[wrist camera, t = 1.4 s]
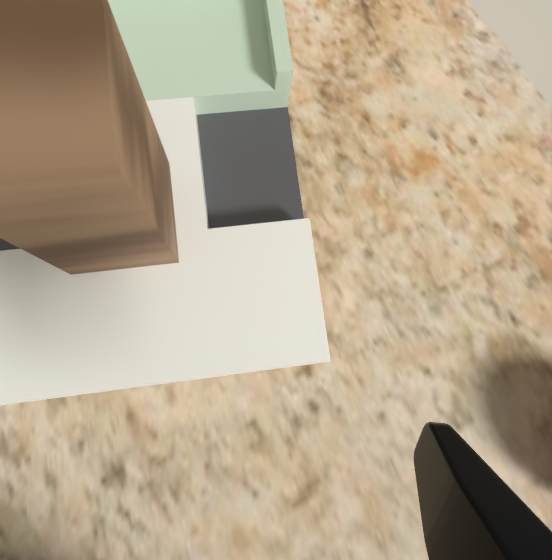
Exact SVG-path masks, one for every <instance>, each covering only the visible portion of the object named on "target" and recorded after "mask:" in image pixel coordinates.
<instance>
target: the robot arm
mask: <svg viewBox="0 0 552 560" xmlns="http://www.w3.org/2000/svg"><path fill="white" fill-rule="evenodd" d="M414 466H415V474H416V481H417V488H418V496H419V503H420V511H421V518H422V525H423V532H424V538H425V544H426V548H427V553H428V557H429V560H552V531H551V530H550V529H549V528H548V527H547V526H546V525H545V524H544V523H543V522H542V521H541V520H540V519H539V518H538V517H537V516H536V515H535V514H534V513H533V512H532V511H531V509H530V508H529V507H528V506H527V505H526V504H525V503H524V502H523V501H522V500H521V499H520V498H519V497H518V496H517V495H516V494H515V493H514V492H513V491H512V490H511V489H510V488H509V486H508V485H507V484H506V483H505V482H504V481H503V480H502V479H501V478H500V477H499V476H498V475H497V474H496V473H495V472H494V471H493V470H492V469H491V468H490V467H489V466H488V465H487V463H486V462H485V461H484V460H483V459H482V458H481V457H480V456H479V455H478V454H477V453H476V452H475V451H474V450H473V449H472V448H471V447H470V446H469V445H468V444H467V443H466V441H465V440H464V439H463V438H462V437H461V436H460V435H459V434H458V433H457V432H456V431H455V430H454V429H453V428H452V427H451V426H450V425H448V424H445V423H435V422H428V423H426V424H425V426H424V428H423V430H422V433H421V435H420V438H419V440H418V443H417V445H416V448H415V451H414Z"/></svg>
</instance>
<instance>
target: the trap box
mask: <svg viewBox="0 0 552 560" xmlns="http://www.w3.org/2000/svg"><path fill="white" fill-rule="evenodd" d="M108 3H109V5H110V8H111V10H112V13H113V16H114V18H115V21H116V24H117V26H118V29H119V32H120V34H121V37H122V40H123V42H124V45H125V47H126V50H127V53H128V55H129V58H130V61H131V63H132V66H133V69H134V71H135V74H136V77H137V79H138V82H139V84H140V87H141V90H142V92H143V95H144V98H145V100H146V103H147V106H148V108H149V111H150V114H151V116H152V119H153V122H154V124H155V127H156V129H157V132H158V135H159V137H160V140H161V143H162V145H163V148H164V151H165V153H166V156H167V159H168V161H169V164H170V173H171V184H172V194H173V204H174V215H175V225H176V236H177V246H178V257H179V263H171V264H162V265H153V266H144V267H135V268H126V269H117V270H108V271H99V272H90V273H81V274H72V275H71V274H69V273H67V272H65V271H63V270H61V269H59V268H57V267H55V266H53V265H51V264H49V263H47V262H45V261H43V260H42V259H40V258H38V257H36V256H34V255H32V254H30V253H28V252H26V251H24V250H22V249H20V248H18V247H16V246H14V245H13V244H11V243H9V242H7V241H5V240H3V239H1V238H0V405H7V404H14V403H22V402H29V401H37V400H44V399H52V398H59V397H67V396H74V395H82V394H89V393H97V392H104V391H112V390H119V389H127V388H134V387H142V386H149V385H157V384H164V383H172V382H179V381H187V380H194V379H202V378H209V377H217V376H224V375H232V374H239V373H247V372H254V371H262V370H269V369H277V368H284V367H292V366H299V365H307V364H314V363H322V362H329V361H330V354H329V347H328V341H327V334H326V327H325V320H324V314H323V307H322V300H321V293H320V286H319V280H318V273H317V266H316V259H315V253H314V246H313V239H312V232H311V226H310V219H309V218H306V219H304V217H303V211H302V204H301V197H300V190H299V183H298V176H297V169H296V163H295V156H294V149H293V142H292V135H291V128H290V121H289V114H288V108H287V107H288V100H289V94H290V88H291V82H292V76H293V66H292V60H291V53H290V46H289V40H288V33H287V26H286V20H285V13H284V6H283V0H108Z"/></svg>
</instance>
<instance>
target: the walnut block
mask: <svg viewBox="0 0 552 560" xmlns="http://www.w3.org/2000/svg"><path fill="white" fill-rule="evenodd" d="M0 238H1V239H3V240H5V241H7V242H9V243H11V244H13V245H14V246H16V247H18V248H20V249H22V250H24V251H26V252H28V253H30V254H32V255H34V256H36V257H38V258H40V259H42V260H43V261H45V262H47V263H49V264H51V265H53V266H55V267H57V268H59V269H61V270H63V271H65V272H67V273H69V274H71V275H72V274H81V273H90V272H99V271H108V270H117V269H126V268H135V267H144V266H153V265H162V264H171V263H179V257H178V246H177V236H176V225H175V215H174V204H173V194H172V184H171V173H170V164H169V161H168V159H167V156H166V153H165V151H164V148H163V145H162V143H161V140H160V137H159V135H158V132H157V129H156V127H155V124H154V122H153V119H152V116H151V114H150V111H149V108H148V106H147V103H146V100H145V98H144V95H143V92H142V90H141V87H140V84H139V82H138V79H137V77H136V74H135V71H134V69H133V66H132V63H131V61H130V58H129V55H128V53H127V50H126V47H125V45H124V42H123V40H122V37H121V34H120V32H119V29H118V26H117V24H116V21H115V18H114V16H113V13H112V10H111V8H110V5H109V3H108V0H0Z"/></svg>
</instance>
